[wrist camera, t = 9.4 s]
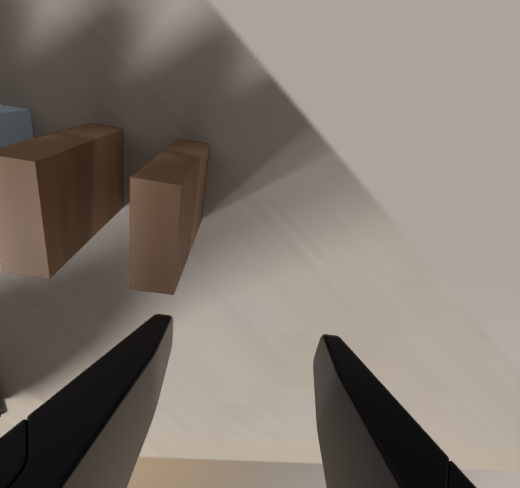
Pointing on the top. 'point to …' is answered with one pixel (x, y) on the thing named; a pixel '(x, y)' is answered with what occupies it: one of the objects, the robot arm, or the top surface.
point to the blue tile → (14, 125)
